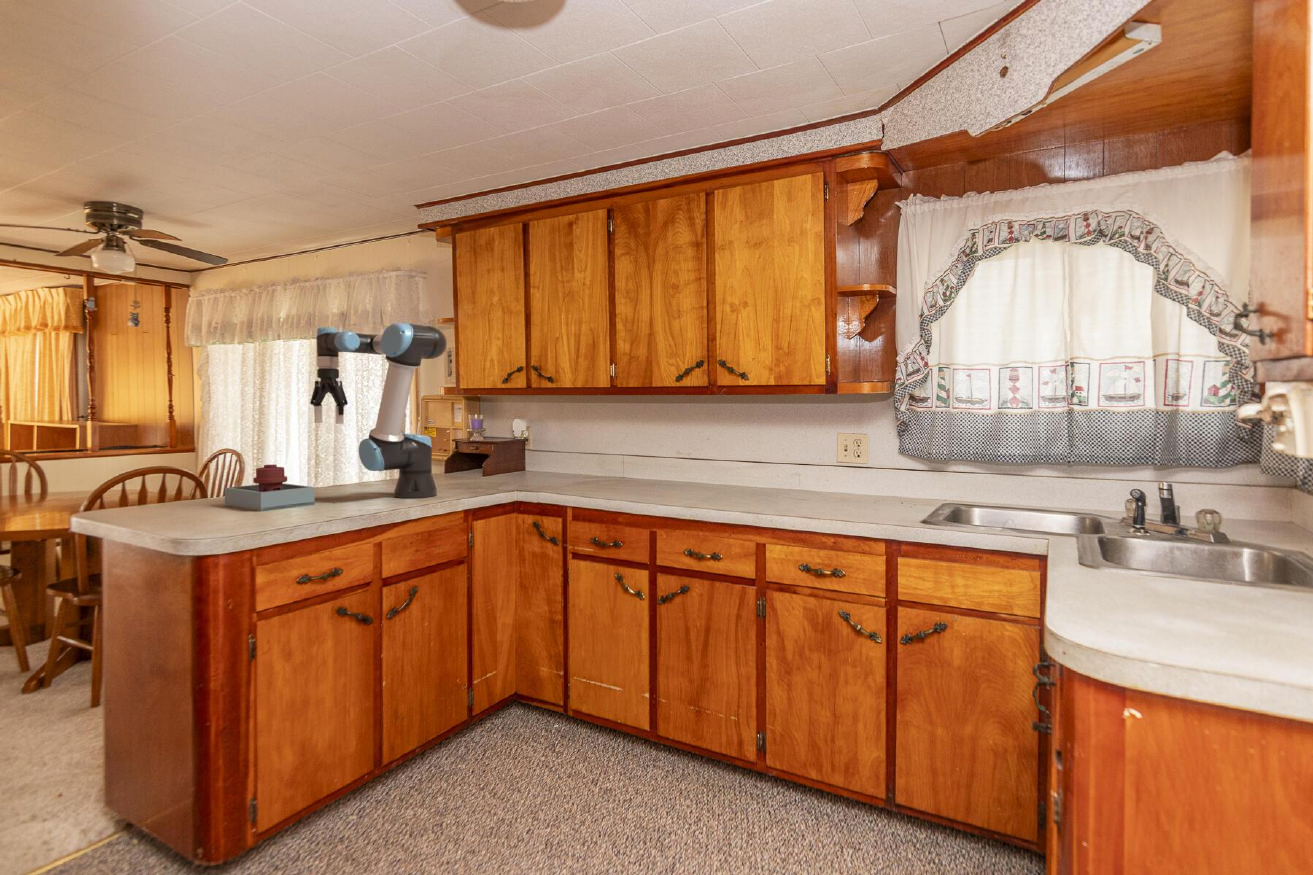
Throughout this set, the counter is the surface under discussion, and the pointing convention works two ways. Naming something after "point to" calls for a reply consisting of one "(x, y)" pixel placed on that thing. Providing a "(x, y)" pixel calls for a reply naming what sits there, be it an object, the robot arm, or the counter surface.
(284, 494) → the tote
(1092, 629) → the counter surface
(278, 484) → the mechanical component
